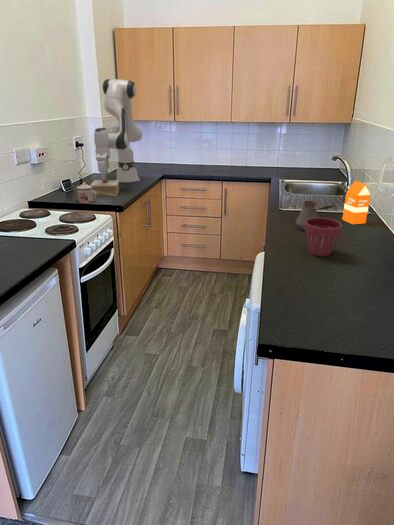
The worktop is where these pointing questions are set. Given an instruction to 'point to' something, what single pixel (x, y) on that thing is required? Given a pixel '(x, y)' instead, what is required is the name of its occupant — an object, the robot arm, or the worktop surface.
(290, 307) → the worktop surface
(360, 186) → the orange juice
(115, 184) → the lid
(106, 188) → the box
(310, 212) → the coffee pot
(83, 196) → the teacup with lid
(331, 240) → the plant pot
